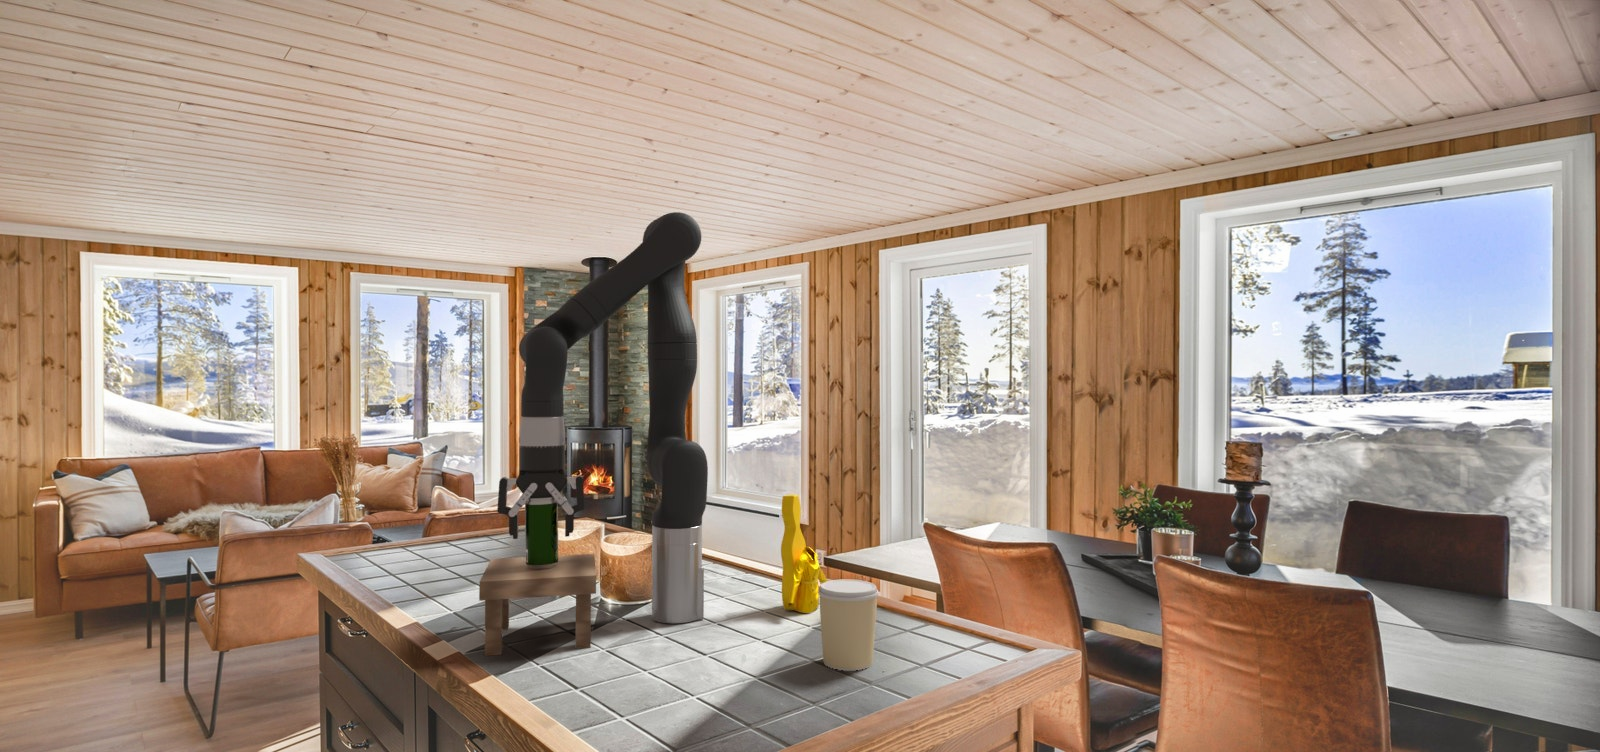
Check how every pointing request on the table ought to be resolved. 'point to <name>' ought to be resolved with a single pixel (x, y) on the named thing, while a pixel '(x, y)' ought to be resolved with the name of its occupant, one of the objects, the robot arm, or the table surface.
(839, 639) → the coffee cup
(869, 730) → the table surface
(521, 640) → the table surface
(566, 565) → the walnut stool
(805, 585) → the yellow raincoat figure
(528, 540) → the beer can
